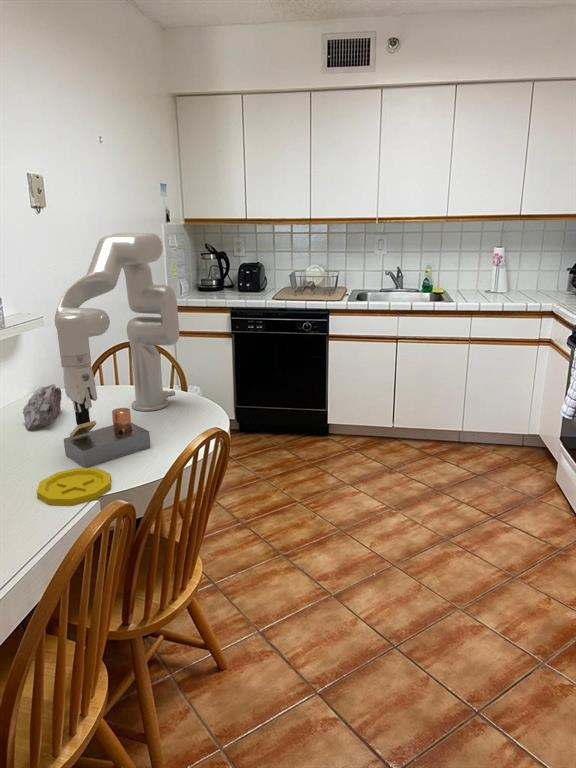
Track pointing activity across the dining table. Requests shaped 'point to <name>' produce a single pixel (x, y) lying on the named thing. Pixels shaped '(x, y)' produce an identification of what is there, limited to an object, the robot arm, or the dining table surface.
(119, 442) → the plate
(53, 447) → the dining table surface
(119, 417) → the small bottle
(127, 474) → the dining table surface
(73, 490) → the decorative disc
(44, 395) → the rock
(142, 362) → the robot arm
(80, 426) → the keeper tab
